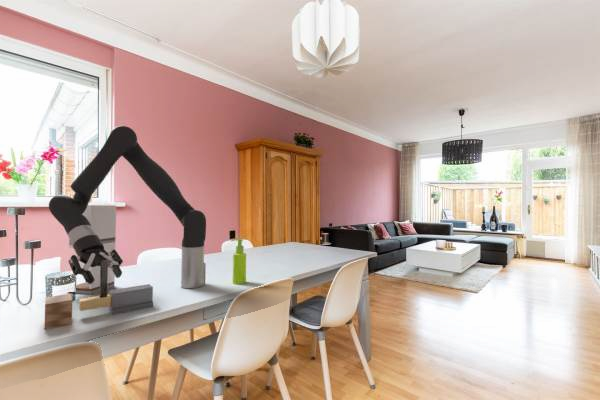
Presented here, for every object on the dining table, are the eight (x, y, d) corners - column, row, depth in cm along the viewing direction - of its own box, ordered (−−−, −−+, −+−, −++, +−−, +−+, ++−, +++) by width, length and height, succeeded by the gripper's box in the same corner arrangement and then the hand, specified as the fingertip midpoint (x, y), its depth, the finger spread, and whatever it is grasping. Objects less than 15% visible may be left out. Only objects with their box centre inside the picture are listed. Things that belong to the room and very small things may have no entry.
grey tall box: (92, 284, 125) (94, 205, 126) (114, 286, 123) (116, 205, 124) (67, 292, 113) (70, 205, 114) (91, 294, 112) (93, 205, 113)
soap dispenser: (231, 281, 133) (232, 238, 133) (246, 280, 134) (247, 238, 134) (229, 284, 127) (230, 239, 128) (245, 284, 128) (245, 239, 128)
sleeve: (148, 301, 104) (148, 283, 104) (153, 306, 98) (153, 287, 98) (108, 309, 96) (109, 289, 96) (111, 315, 90) (112, 294, 91)
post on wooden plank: (143, 297, 101) (144, 256, 101) (145, 299, 98) (146, 257, 99) (79, 308, 89) (80, 262, 89) (80, 311, 87) (81, 263, 87)
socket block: (70, 315, 90) (71, 293, 90) (71, 323, 83) (72, 299, 84) (45, 320, 86) (45, 297, 86) (44, 329, 80) (45, 304, 80)
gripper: (66, 235, 89) (87, 276, 84) (112, 232, 102) (133, 267, 97) (56, 251, 91) (76, 292, 86) (102, 246, 104) (122, 281, 99)
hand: (106, 279), depth 91 cm, fingers open, 8 cm apart
